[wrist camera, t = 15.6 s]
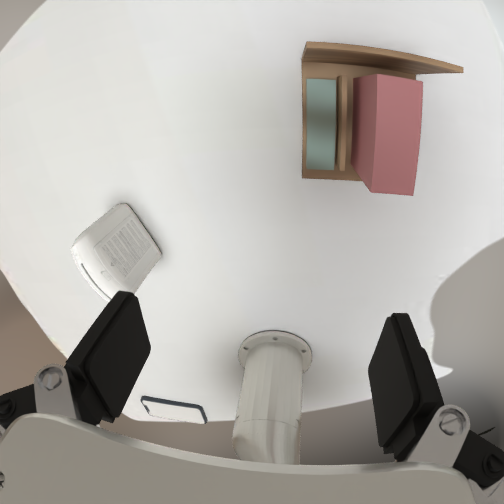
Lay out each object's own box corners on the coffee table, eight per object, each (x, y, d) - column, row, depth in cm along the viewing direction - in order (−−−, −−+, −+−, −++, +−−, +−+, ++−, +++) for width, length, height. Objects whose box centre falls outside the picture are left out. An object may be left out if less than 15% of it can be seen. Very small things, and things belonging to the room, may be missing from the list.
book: (383, 166, 32) (413, 195, 23) (350, 164, 32) (370, 192, 24) (387, 82, 27) (422, 81, 18) (352, 78, 27) (377, 73, 19)
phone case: (202, 402, 64) (140, 393, 66) (200, 408, 62) (138, 398, 64) (208, 420, 68) (151, 411, 70) (207, 425, 67) (149, 416, 69)
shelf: (405, 182, 33) (446, 223, 23) (302, 175, 35) (306, 215, 25) (412, 70, 26) (463, 67, 16) (301, 58, 28) (306, 41, 18)
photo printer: (107, 211, 41) (57, 253, 30) (126, 197, 39) (74, 238, 29) (146, 265, 45) (109, 319, 34) (167, 255, 43) (130, 310, 32)
